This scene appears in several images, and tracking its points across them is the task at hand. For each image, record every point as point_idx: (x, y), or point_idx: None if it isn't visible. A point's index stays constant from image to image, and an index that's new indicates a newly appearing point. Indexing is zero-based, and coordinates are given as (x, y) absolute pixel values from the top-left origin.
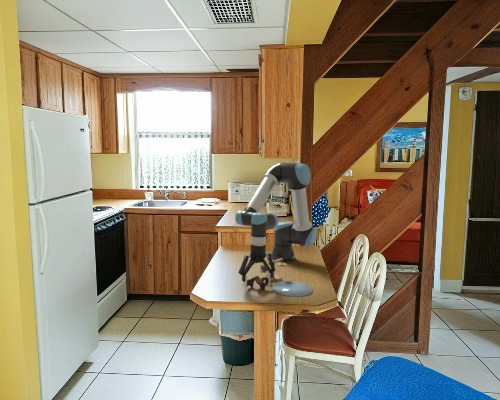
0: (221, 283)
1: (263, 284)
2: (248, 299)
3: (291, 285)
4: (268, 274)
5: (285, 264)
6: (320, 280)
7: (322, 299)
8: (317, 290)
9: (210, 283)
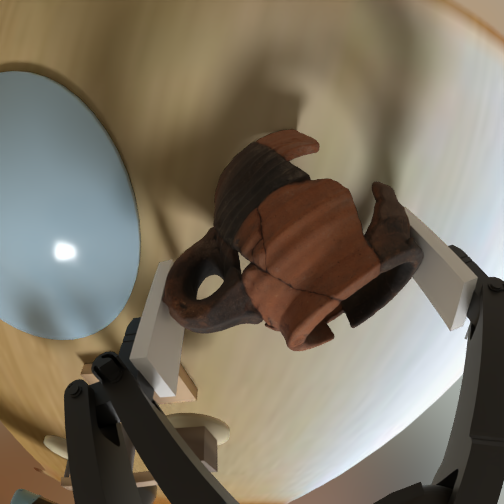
0: (447, 333)
1: (238, 210)
2: (411, 31)
3: (16, 278)
4: (156, 351)
5: (51, 447)
6: None
7: None
8: None
9: None
